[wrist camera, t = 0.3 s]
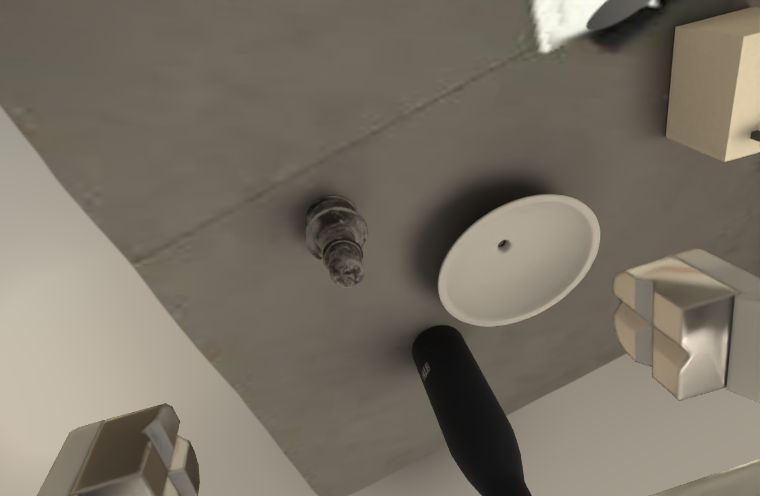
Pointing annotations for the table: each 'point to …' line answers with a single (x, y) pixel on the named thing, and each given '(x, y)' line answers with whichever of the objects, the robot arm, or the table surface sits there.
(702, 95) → the bin
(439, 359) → the black bottle
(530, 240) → the dish
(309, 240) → the salt shaker
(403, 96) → the table surface
